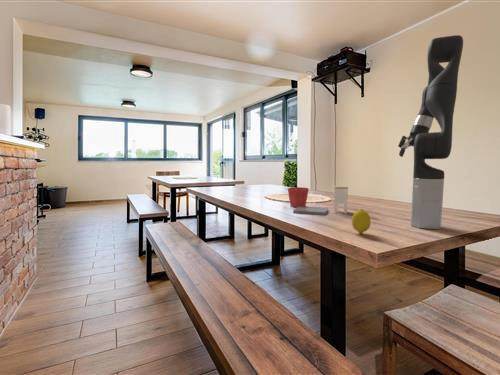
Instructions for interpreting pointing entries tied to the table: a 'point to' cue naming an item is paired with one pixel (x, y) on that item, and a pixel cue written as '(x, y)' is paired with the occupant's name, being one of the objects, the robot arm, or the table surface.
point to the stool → (340, 197)
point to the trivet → (310, 210)
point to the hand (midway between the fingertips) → (408, 157)
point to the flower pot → (298, 196)
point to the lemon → (361, 221)
